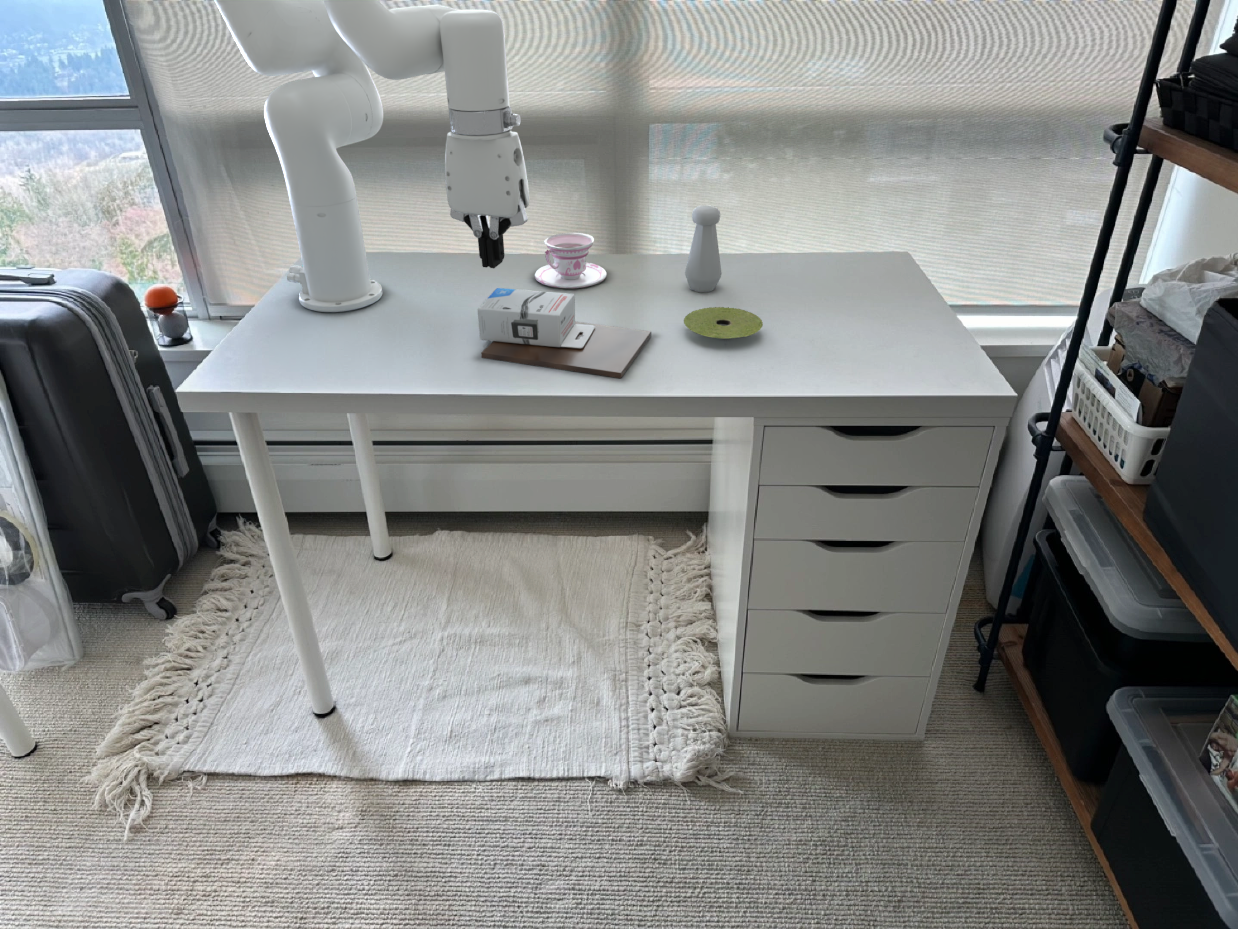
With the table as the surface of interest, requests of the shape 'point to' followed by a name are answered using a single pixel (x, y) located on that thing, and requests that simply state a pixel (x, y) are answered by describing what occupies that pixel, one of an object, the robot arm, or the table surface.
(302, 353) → the table surface
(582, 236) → the teacup
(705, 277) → the salt shaker
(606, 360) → the walnut board
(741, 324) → the green grinding disc
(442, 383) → the table surface
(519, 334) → the ink box
